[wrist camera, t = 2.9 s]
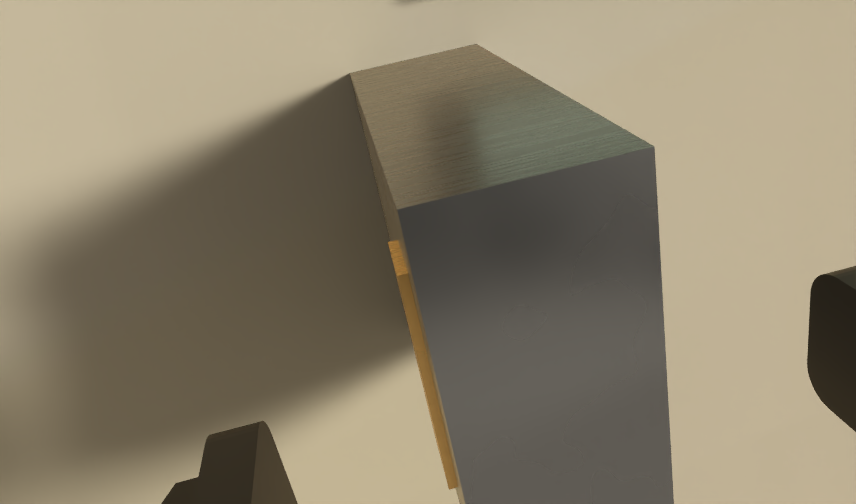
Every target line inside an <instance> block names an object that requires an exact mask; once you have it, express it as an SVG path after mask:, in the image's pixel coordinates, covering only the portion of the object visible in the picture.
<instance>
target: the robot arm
mask: <svg viewBox="0 0 856 504" xmlns="http://www.w3.org/2000/svg"><path fill="white" fill-rule="evenodd" d="M807 367H808V373H809V377H810V380H811V383H812V385H813V387H814V390H815V391H816V393H817V395H818V396H819V398H820V399H821V401H822V402H823V403H824V404H825V405H826V406H827V407H828V408H829V409H830V410H831V411H832V412H834V413H835V414H836V415H837V416H838V417H839V418H840V419H842V420H843V421H844V422H845V423H846V424H847V425H848V426H849V427H851V428H852V429H853V430H854V431H855V432H856V266H854V267H850V268H846V269H842V270H838V271H835V272H831V273H827V274H823V275H820V276H818V277H817V278H816V279H815V280H814V282H813V284H812V287H811V296H810V317H809V338H808V359H807ZM162 504H297V501H296V498H295V495H294V493H293V490H292V487H291V485H290V482H289V479H288V477H287V474H286V471H285V469H284V466H283V463H282V461H281V458H280V456H279V453H278V450H277V448H276V445H275V442H274V440H273V437H272V434H271V432H270V430H269V428H268V426H267V424H266V423H265V422H264V421H261V422H257V423H253V424H249V425H246V426H242V427H238V428H234V429H230V430H227V431H223V432H219V433H215V434H212V435H209V436H208V437H207V439H206V443H205V448H204V453H203V458H202V462H201V467H200V472H199V477H197V478H194V479H190V480H186V481H182V482H179V483H176V484H175V485H174V486H173V488H172V489H171V491H170V492H169V494H168V495H167V496H166V498H165V499H164V501H163V502H162Z"/></svg>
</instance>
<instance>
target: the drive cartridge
mask: <svg viewBox="0 0 856 504" xmlns="http://www.w3.org/2000/svg"><path fill="white" fill-rule="evenodd" d="M350 76H351V81H352V85H353V89H354V93H355V97H356V101H357V105H358V109H359V114H360V118H361V122H362V126H363V130H364V134H365V138H366V143H367V147H368V151H369V155H370V159H371V163H372V167H373V171H374V176H375V180H376V184H377V188H378V192H379V196H380V200H381V205H382V209H383V213H384V217H385V221H386V225H387V229H388V234H389V238H390V242H388V245H389V249H390V253H391V257H392V261H393V265H394V269H395V273H396V278H397V282H398V286H399V290H400V294H401V298H402V302H403V306H404V310H405V314H406V319H407V323H408V327H409V331H410V335H411V339H412V343H413V347H414V351H415V355H416V360H417V364H418V368H419V372H420V376H421V380H422V384H423V388H424V392H425V396H426V401H427V405H428V409H429V413H430V417H431V421H432V425H433V429H434V433H435V438H436V442H437V445H438V449H439V453H440V457H441V461H442V464H443V468H444V472H445V476H446V479H447V483H448V487H449V489H453V488H456V491H457V495H458V498H459V502H460V504H674V500H673V481H672V463H671V444H670V426H669V407H668V389H667V370H666V352H665V333H664V315H663V297H662V278H661V260H660V241H659V223H658V204H657V186H656V167H655V149H654V146H653V145H651V144H649V143H647V142H646V141H644V140H642V139H640V138H639V137H637V136H635V135H633V134H632V133H630V132H628V131H627V130H625V129H623V128H621V127H620V126H618V125H616V124H614V123H613V122H611V121H609V120H607V119H606V118H604V117H602V116H601V115H599V114H597V113H595V112H594V111H592V110H590V109H588V108H587V107H585V106H583V105H581V104H580V103H578V102H576V101H574V100H573V99H571V98H569V97H568V96H566V95H564V94H562V93H561V92H559V91H557V90H555V89H554V88H552V87H550V86H548V85H547V84H545V83H543V82H542V81H540V80H538V79H536V78H535V77H533V76H531V75H529V74H528V73H526V72H524V71H522V70H521V69H519V68H517V67H516V66H514V65H512V64H510V63H509V62H507V61H505V60H503V59H502V58H500V57H498V56H496V55H495V54H493V53H491V52H490V51H488V50H486V49H484V48H483V47H481V46H479V45H477V44H474V45H470V46H465V47H461V48H457V49H452V50H448V51H444V52H439V53H435V54H431V55H426V56H422V57H418V58H413V59H409V60H405V61H400V62H396V63H392V64H387V65H383V66H379V67H374V68H370V69H366V70H361V71H357V72H353V73H350Z"/></svg>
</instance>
